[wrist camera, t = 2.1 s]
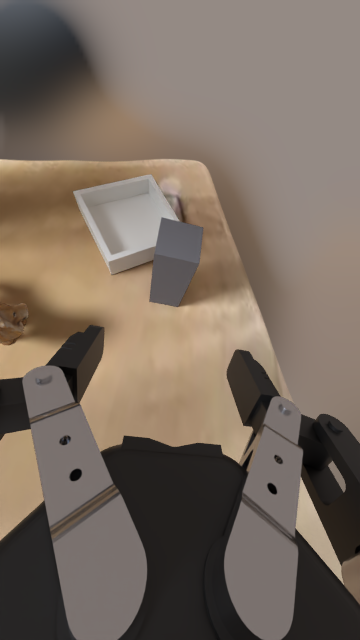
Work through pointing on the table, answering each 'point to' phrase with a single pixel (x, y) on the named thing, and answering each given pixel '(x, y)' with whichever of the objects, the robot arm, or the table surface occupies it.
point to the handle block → (174, 261)
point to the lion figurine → (12, 322)
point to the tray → (125, 219)
